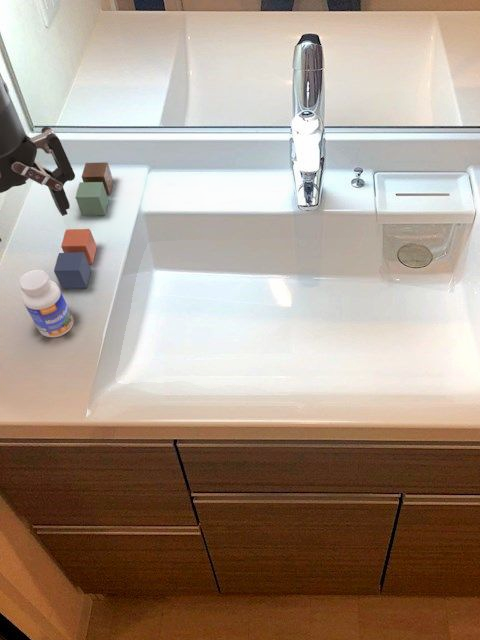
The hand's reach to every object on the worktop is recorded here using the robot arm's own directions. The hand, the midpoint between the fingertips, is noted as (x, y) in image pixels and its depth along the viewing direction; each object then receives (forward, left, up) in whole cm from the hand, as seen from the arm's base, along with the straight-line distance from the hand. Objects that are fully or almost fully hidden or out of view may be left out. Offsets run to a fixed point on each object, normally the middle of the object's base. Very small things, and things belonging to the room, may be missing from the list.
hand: (30, 225), depth 78 cm
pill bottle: (-5, 0, -21) cm, 22 cm away
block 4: (-9, +8, -21) cm, 24 cm away
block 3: (-11, +13, -21) cm, 27 cm away
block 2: (-17, +24, -21) cm, 36 cm away
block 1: (-20, +28, -21) cm, 41 cm away
